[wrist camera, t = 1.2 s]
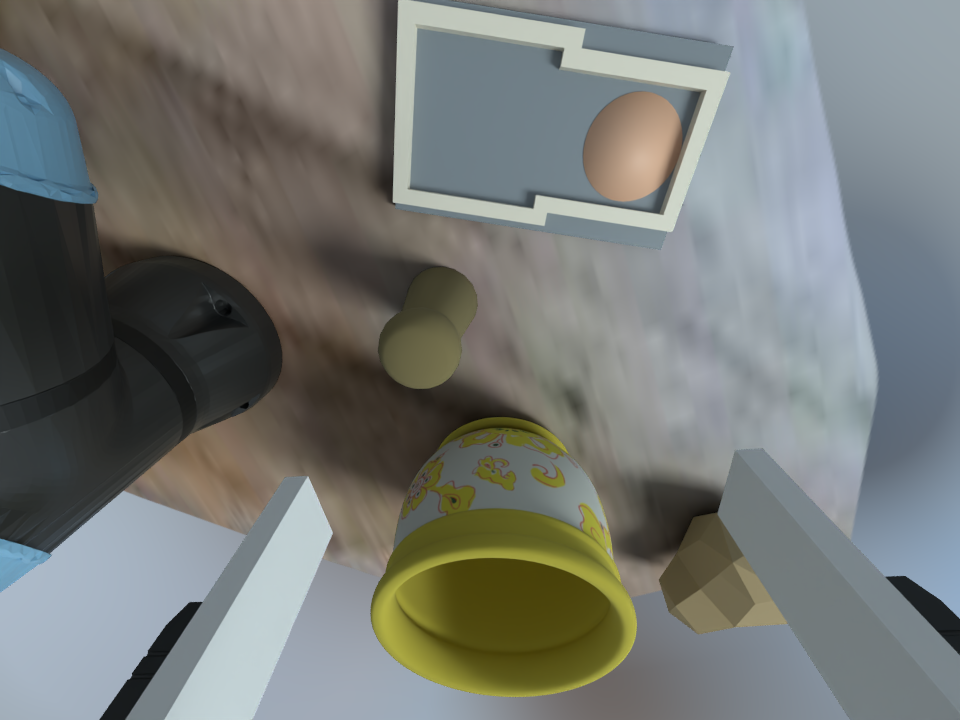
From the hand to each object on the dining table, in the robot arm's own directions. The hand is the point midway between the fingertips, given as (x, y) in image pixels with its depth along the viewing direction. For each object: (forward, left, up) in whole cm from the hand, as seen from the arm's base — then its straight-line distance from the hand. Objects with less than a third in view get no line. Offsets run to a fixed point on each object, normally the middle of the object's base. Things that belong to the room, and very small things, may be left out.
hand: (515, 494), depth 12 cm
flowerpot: (+3, -19, -22) cm, 29 cm away
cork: (-5, -2, -22) cm, 22 cm away
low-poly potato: (+27, -25, -22) cm, 42 cm away
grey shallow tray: (+1, +11, -22) cm, 24 cm away
